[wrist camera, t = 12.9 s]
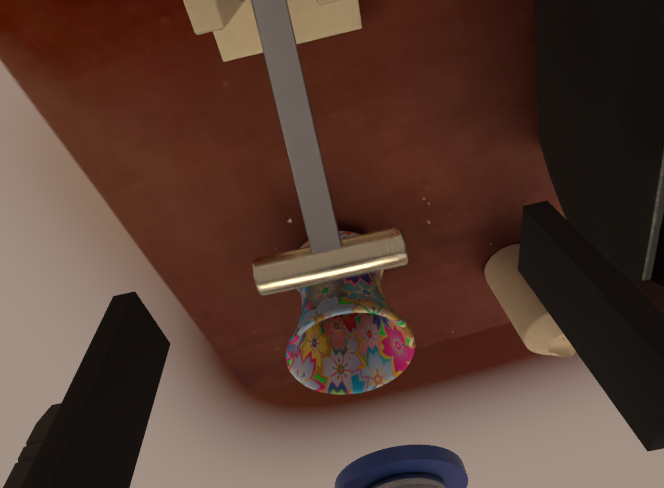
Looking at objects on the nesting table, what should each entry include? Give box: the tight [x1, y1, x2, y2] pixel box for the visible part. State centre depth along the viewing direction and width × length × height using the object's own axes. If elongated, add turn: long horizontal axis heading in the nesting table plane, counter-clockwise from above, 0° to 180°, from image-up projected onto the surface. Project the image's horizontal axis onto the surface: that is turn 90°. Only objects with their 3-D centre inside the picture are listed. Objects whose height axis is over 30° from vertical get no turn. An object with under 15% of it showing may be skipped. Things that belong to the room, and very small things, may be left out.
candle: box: [484, 244, 576, 358], centre depth 36 cm, size 6×6×10 cm
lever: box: [240, 0, 408, 296], centre depth 14 cm, size 13×6×2 cm, turn 12°
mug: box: [286, 231, 415, 394], centre depth 34 cm, size 12×9×11 cm
